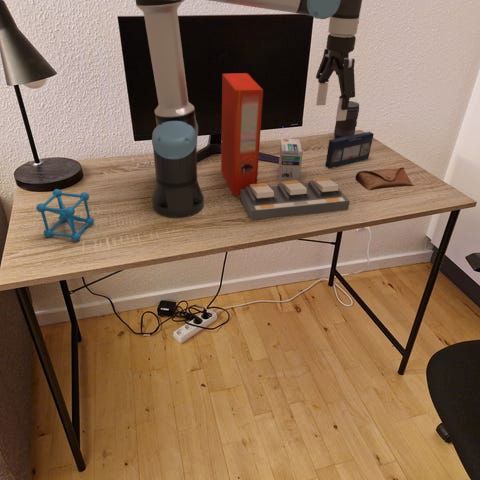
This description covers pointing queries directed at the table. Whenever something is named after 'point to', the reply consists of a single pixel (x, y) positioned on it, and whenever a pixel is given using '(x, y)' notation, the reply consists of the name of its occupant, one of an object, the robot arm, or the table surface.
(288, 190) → the switch middle
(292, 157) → the light bulb box
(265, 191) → the switch left
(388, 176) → the sunglasses case
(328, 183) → the switch right
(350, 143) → the vhs cassette tape
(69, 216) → the molecular structure
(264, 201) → the switch unit
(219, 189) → the table surface
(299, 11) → the robot arm
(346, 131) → the camera lens
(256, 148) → the file binder
